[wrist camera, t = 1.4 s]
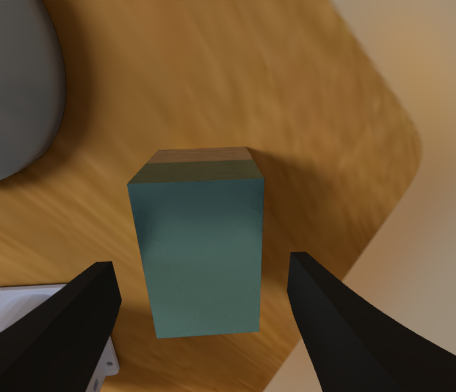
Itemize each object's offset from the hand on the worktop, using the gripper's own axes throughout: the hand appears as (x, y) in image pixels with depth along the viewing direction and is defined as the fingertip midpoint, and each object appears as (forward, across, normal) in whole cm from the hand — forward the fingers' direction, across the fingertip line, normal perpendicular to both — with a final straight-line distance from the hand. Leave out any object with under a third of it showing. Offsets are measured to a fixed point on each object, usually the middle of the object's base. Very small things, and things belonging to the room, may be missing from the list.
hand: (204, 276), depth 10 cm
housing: (+6, 0, 0) cm, 6 cm away
